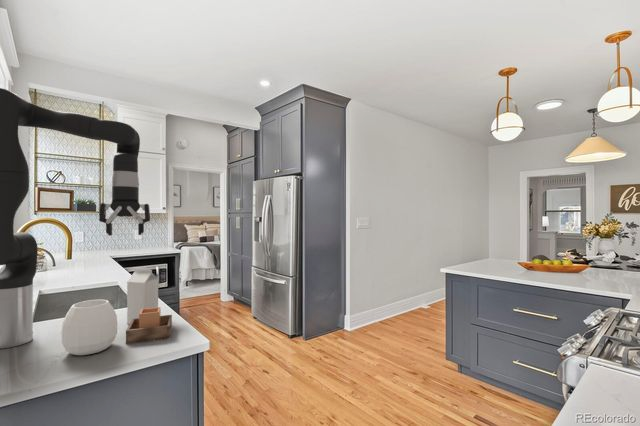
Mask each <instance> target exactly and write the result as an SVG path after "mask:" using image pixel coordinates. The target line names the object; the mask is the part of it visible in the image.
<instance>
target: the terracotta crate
mask: <svg viewBox="0 0 640 426" xmlns="http://www.w3.org/2000/svg"><path fill="white" fill-rule="evenodd" d="M161 309H162V308H161V307H159V306H158V308H147V309H141V311H140V313H139V329H140V328H149V327H158V326H160V316H161Z"/></svg>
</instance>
